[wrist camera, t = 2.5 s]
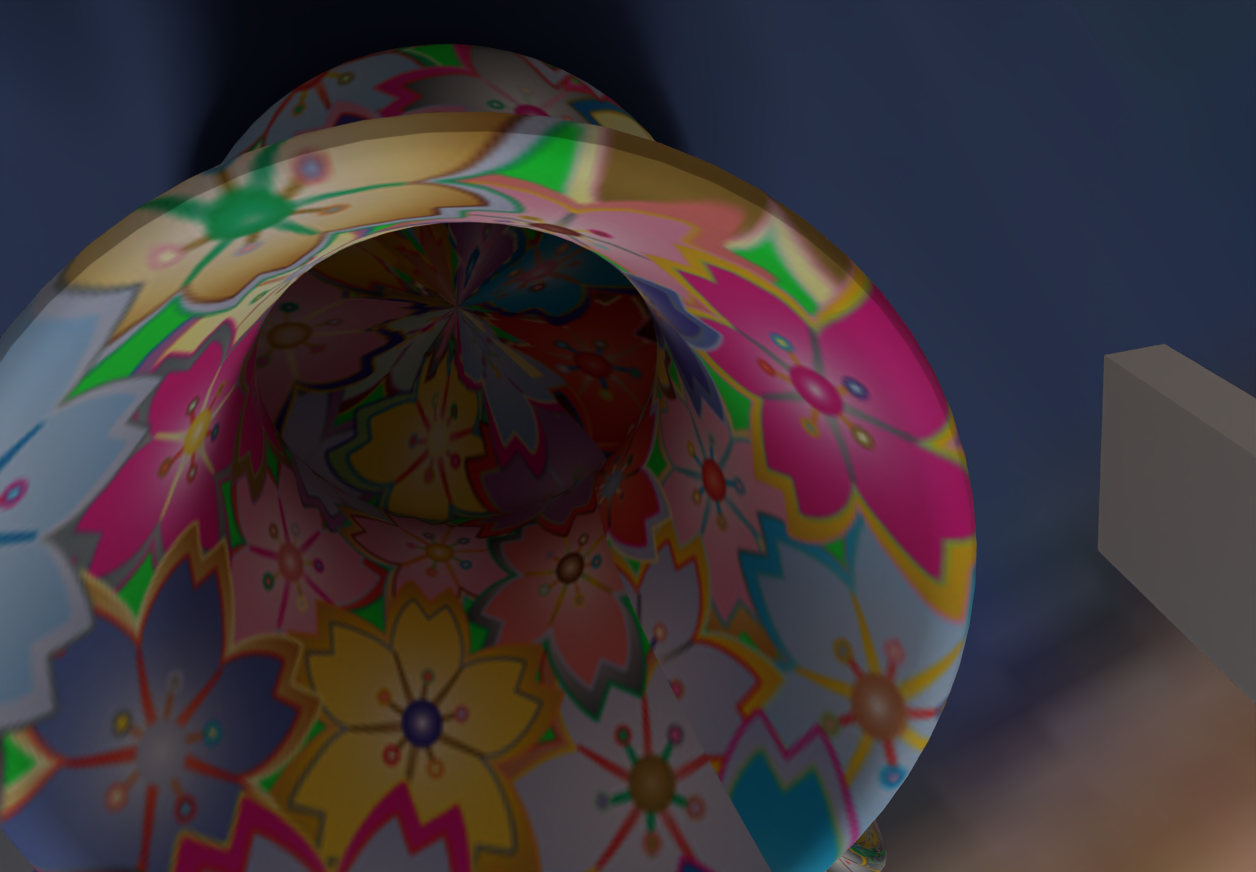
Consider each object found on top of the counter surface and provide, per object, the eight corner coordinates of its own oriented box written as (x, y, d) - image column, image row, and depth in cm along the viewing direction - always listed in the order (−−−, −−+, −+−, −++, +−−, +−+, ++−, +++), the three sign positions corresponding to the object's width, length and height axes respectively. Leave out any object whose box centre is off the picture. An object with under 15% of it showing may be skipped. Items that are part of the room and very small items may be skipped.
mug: (45, 297, 19) (-345, 690, 9) (453, -128, 17) (488, -180, 8) (554, 703, 24) (643, 1239, 14) (910, 398, 22) (1282, 767, 13)
